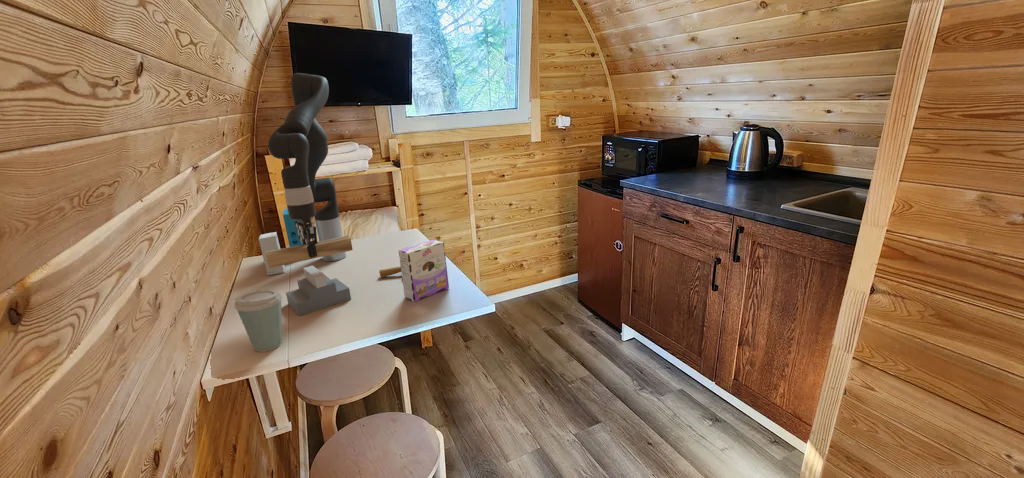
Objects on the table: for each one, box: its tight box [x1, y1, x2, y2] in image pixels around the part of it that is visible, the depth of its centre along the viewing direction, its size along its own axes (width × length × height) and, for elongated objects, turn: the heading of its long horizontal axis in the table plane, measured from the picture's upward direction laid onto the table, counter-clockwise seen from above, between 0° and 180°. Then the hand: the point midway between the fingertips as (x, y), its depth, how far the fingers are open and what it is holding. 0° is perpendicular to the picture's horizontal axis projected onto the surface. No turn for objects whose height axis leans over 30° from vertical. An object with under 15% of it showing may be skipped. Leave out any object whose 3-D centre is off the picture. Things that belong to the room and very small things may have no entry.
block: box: [282, 208, 303, 247], centre depth 185 cm, size 12×5×20 cm, turn 23°
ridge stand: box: [285, 265, 352, 317], centre depth 141 cm, size 12×16×10 cm
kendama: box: [378, 266, 402, 279], centre depth 161 cm, size 8×6×18 cm
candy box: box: [398, 239, 450, 303], centre depth 142 cm, size 14×6×16 cm, turn 134°
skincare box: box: [258, 231, 286, 276], centre depth 170 cm, size 8×6×15 cm
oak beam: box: [266, 235, 354, 268], centre depth 137 cm, size 4×24×4 cm, turn 123°
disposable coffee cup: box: [234, 289, 283, 353], centre depth 114 cm, size 11×11×15 cm
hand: (310, 254), depth 137 cm, fingers closed on oak beam, 4 cm apart
